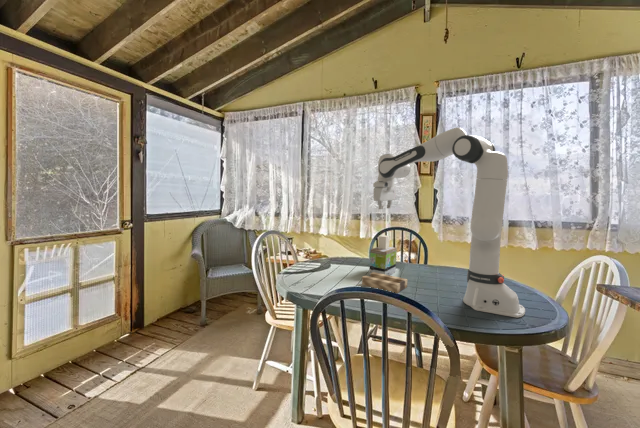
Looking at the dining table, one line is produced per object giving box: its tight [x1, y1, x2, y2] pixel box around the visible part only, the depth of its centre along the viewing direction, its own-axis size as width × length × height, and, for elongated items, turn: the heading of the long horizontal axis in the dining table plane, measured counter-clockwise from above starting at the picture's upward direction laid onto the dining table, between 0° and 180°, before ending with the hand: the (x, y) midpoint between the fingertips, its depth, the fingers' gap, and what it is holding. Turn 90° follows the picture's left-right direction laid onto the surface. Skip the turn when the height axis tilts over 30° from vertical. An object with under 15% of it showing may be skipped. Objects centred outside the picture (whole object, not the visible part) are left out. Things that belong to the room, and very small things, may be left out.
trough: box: [361, 272, 408, 294], centre depth 150 cm, size 19×12×4 cm, turn 51°
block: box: [377, 234, 391, 249], centre depth 169 cm, size 4×4×7 cm
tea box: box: [368, 246, 398, 276], centre depth 171 cm, size 15×10×15 cm
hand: (384, 208), depth 168 cm, fingers open, 8 cm apart
